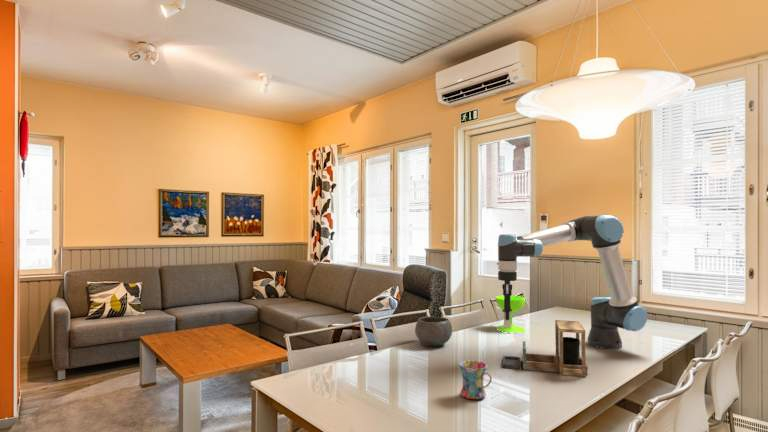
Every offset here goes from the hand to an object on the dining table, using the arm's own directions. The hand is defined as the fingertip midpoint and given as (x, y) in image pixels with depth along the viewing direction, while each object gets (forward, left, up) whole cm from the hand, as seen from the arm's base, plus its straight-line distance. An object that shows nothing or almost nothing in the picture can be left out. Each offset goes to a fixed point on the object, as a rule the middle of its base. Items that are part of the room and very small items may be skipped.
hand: (507, 327), depth 180 cm
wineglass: (-1, -62, -16) cm, 64 cm away
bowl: (+35, -20, -16) cm, 43 cm away
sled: (-18, 0, -15) cm, 23 cm away
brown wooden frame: (-24, 0, -15) cm, 29 cm away
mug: (+10, +40, -16) cm, 44 cm away
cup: (-24, 0, -16) cm, 29 cm away
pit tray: (-2, 0, -15) cm, 15 cm away
